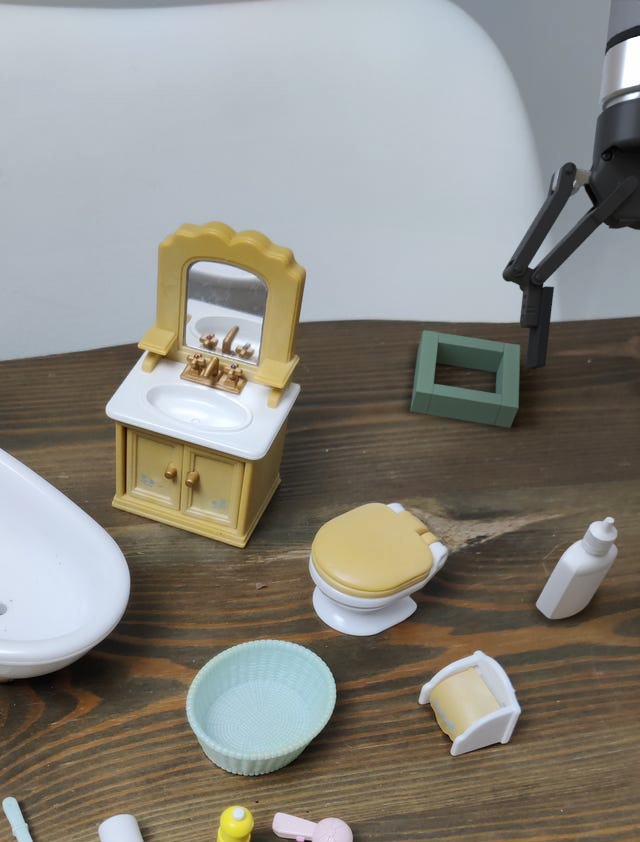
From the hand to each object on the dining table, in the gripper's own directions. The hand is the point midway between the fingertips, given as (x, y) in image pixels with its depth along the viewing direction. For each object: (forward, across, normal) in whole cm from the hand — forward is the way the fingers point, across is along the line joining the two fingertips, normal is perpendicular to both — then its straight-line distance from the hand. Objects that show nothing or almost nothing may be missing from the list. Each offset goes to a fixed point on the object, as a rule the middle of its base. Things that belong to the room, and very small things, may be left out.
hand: (613, 372), depth 85 cm
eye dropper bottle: (+21, 0, -6) cm, 22 cm away
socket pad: (0, +6, -27) cm, 28 cm away
